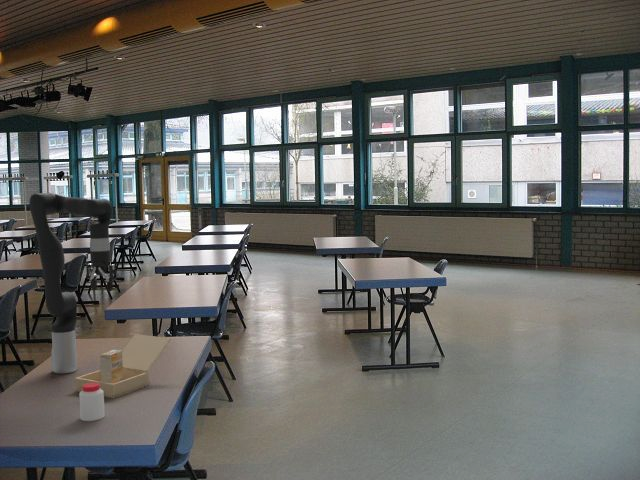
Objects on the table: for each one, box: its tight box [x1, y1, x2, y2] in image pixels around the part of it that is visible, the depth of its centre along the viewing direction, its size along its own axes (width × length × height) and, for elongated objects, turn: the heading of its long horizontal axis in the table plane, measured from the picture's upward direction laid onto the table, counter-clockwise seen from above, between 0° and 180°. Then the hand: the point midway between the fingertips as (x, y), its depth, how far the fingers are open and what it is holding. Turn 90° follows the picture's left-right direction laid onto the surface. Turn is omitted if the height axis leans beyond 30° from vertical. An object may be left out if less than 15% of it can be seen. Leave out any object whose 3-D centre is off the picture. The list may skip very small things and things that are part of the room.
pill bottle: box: [78, 383, 106, 422], centre depth 224 cm, size 8×8×11 cm
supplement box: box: [99, 349, 124, 384], centre depth 256 cm, size 8×5×13 cm, turn 165°
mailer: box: [74, 368, 150, 399], centre depth 257 cm, size 20×18×5 cm
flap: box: [122, 333, 172, 373], centre depth 270 cm, size 19×17×1 cm
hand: (102, 290), depth 266 cm, fingers open, 8 cm apart
